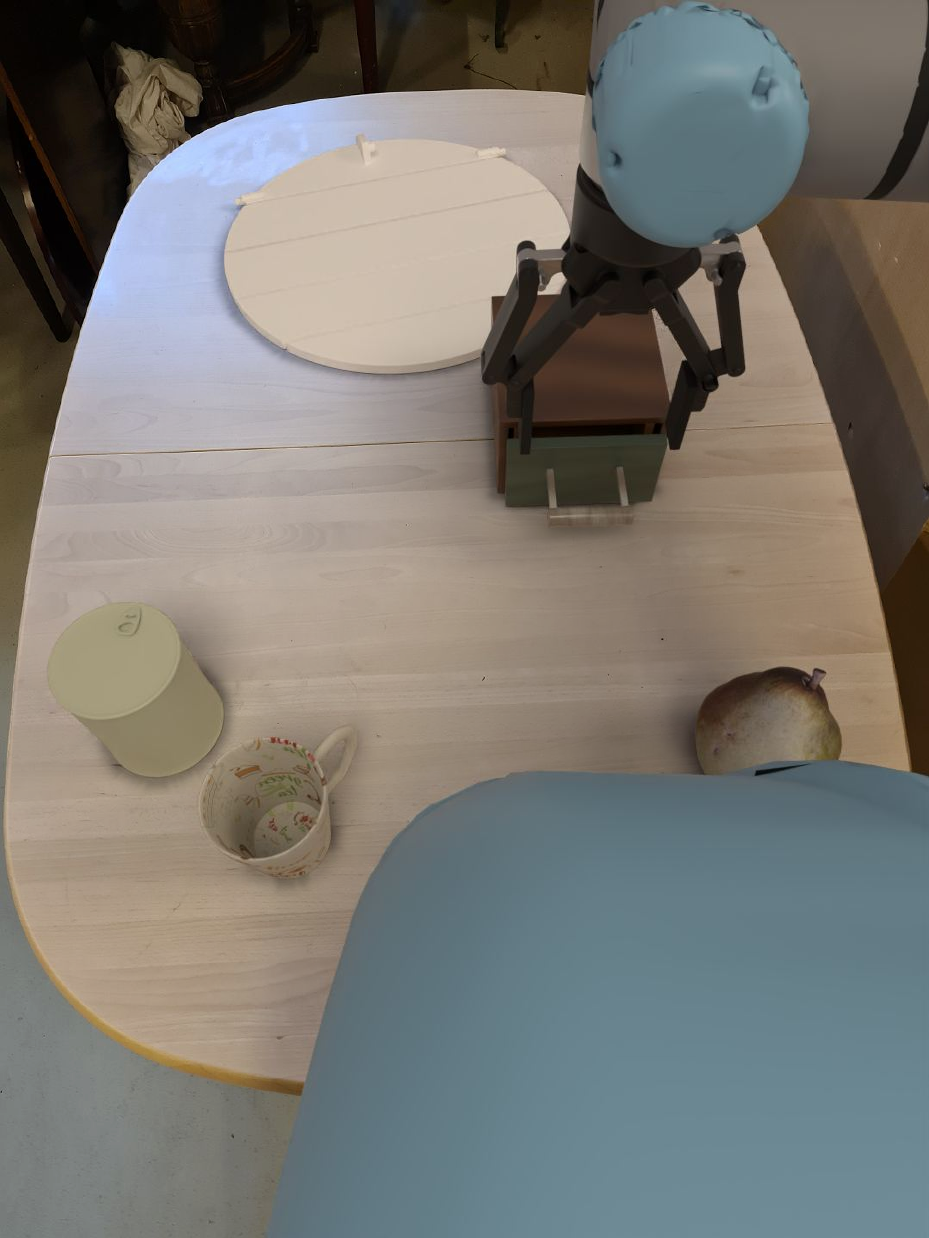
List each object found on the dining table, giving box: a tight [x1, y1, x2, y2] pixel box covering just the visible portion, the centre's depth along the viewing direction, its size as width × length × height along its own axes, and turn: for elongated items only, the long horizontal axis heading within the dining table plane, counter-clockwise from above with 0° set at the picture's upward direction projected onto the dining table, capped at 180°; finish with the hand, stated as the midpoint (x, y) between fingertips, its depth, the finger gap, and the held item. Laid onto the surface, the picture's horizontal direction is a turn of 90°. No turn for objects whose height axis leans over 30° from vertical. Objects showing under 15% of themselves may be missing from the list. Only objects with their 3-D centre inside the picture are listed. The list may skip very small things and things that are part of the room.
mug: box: [197, 724, 359, 880], centre depth 61 cm, size 8×13×10 cm, turn 145°
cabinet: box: [490, 294, 671, 494], centre depth 80 cm, size 16×15×10 cm
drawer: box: [504, 423, 669, 528], centre depth 77 cm, size 20×13×8 cm, turn 2°
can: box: [46, 601, 225, 778], centre depth 64 cm, size 9×9×12 cm
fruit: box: [694, 665, 843, 775], centre depth 61 cm, size 10×9×12 cm
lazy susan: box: [223, 133, 571, 375], centre depth 96 cm, size 40×39×3 cm
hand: (598, 439), depth 66 cm, fingers open, 11 cm apart
